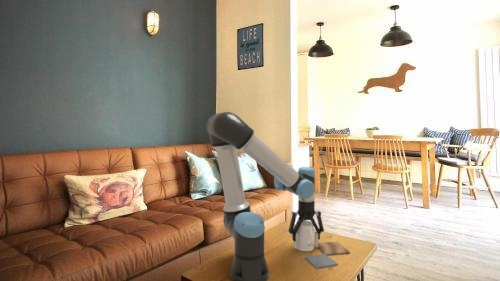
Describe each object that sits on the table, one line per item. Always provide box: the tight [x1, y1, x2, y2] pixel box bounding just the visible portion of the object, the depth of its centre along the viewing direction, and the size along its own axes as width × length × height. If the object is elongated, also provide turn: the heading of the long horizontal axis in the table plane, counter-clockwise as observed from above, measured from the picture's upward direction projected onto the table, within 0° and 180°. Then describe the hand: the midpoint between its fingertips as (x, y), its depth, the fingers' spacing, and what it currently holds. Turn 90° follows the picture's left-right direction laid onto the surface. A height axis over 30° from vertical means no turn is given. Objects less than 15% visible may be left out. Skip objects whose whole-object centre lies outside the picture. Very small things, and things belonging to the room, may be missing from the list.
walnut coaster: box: [317, 241, 351, 257], centre depth 135 cm, size 12×12×1 cm
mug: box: [296, 220, 315, 252], centre depth 135 cm, size 12×8×12 cm
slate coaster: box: [304, 253, 339, 270], centre depth 123 cm, size 10×10×1 cm
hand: (306, 246), depth 135 cm, fingers open, 9 cm apart
